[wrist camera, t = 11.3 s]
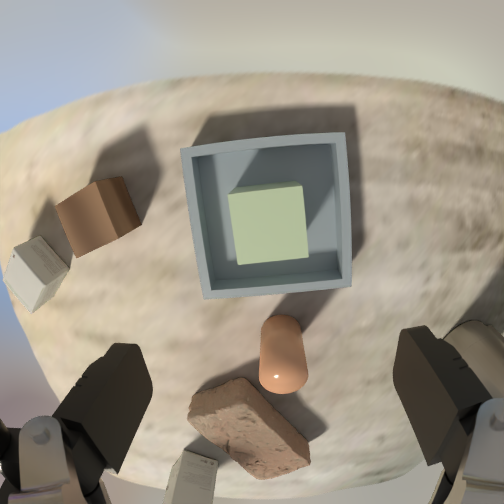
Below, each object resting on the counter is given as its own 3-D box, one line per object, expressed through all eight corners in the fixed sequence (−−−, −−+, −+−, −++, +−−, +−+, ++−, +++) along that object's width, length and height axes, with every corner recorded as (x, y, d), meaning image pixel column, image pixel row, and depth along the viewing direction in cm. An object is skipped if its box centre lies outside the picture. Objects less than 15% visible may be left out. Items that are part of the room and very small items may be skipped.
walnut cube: (122, 176, 26) (95, 181, 21) (142, 224, 27) (118, 238, 22) (84, 197, 26) (54, 206, 22) (103, 242, 28) (76, 258, 23)
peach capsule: (300, 312, 29) (308, 355, 22) (301, 346, 30) (308, 391, 23) (259, 316, 29) (256, 359, 22) (262, 349, 30) (261, 395, 24)
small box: (25, 266, 29) (0, 280, 25) (40, 233, 28) (13, 245, 23) (54, 298, 30) (31, 316, 26) (71, 267, 29) (46, 285, 24)
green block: (295, 180, 24) (302, 185, 20) (301, 238, 26) (308, 257, 21) (235, 187, 25) (227, 194, 20) (243, 245, 26) (237, 264, 21)
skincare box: (183, 448, 37) (162, 529, 23) (221, 460, 37) (208, 541, 23) (171, 468, 39) (151, 538, 25) (204, 479, 40) (191, 549, 26)
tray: (336, 134, 24) (344, 132, 21) (343, 273, 27) (351, 286, 25) (189, 149, 25) (180, 148, 22) (209, 285, 28) (203, 299, 26)
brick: (188, 395, 34) (180, 422, 29) (244, 371, 32) (241, 401, 27) (261, 458, 37) (260, 482, 33) (311, 441, 36) (314, 467, 31)
